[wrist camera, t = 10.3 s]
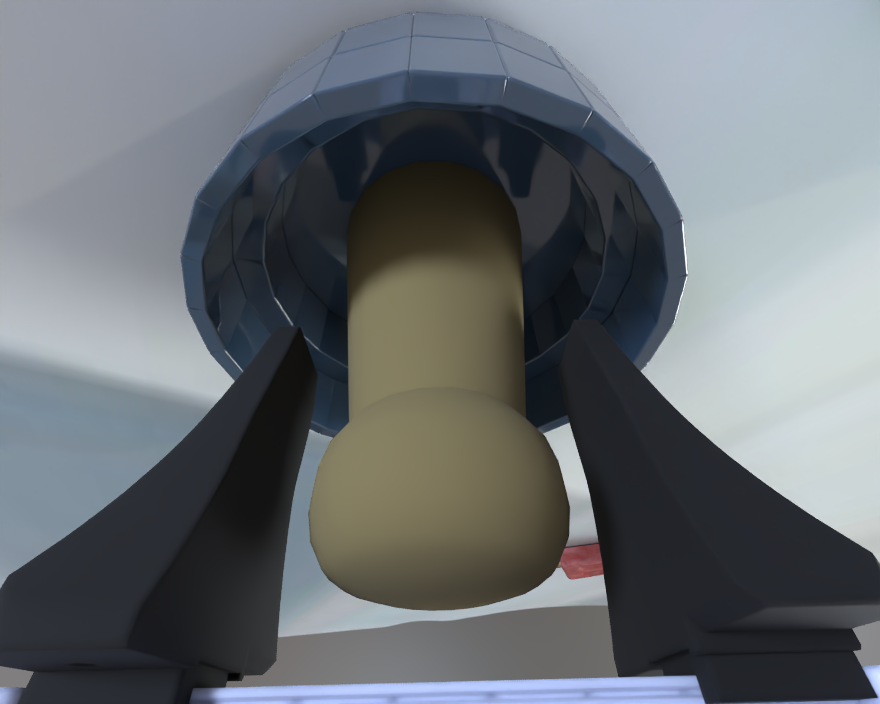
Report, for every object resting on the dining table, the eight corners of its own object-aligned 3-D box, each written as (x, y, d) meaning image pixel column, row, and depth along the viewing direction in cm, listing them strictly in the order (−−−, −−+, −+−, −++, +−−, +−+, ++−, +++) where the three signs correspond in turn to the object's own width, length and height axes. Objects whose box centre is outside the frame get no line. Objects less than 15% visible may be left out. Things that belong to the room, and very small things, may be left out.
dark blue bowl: (718, 111, 13) (822, 199, 9) (518, 378, 22) (534, 471, 18) (240, -92, 9) (137, -69, 6) (241, 322, 18) (201, 423, 15)
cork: (545, 174, 13) (689, 549, 6) (497, 316, 18) (546, 632, 10) (345, 146, 13) (231, 535, 5) (347, 302, 17) (287, 631, 10)
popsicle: (508, 575, 41) (677, 551, 38) (506, 556, 42) (669, 530, 39) (519, 587, 44) (676, 565, 41) (517, 568, 46) (669, 546, 42)
